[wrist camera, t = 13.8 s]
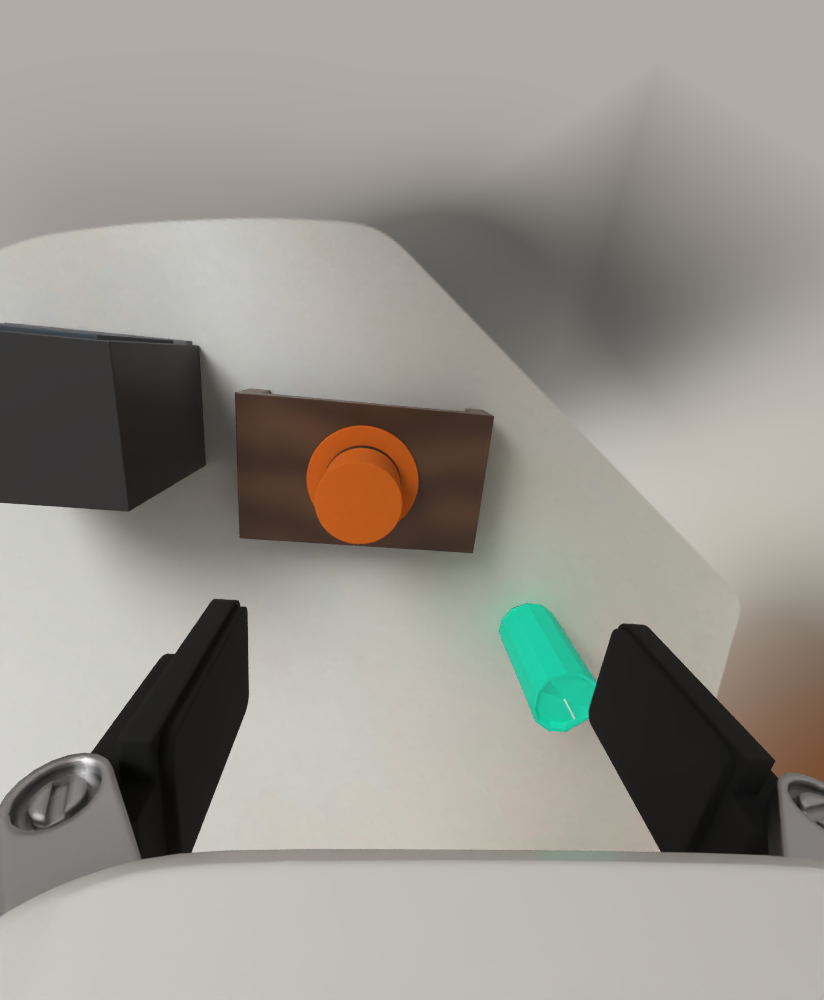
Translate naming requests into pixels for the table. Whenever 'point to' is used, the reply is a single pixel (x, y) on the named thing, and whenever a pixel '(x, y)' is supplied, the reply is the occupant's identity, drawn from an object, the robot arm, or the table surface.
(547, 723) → the candle
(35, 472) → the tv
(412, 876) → the robot arm
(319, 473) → the hat
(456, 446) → the stand
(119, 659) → the table surface
